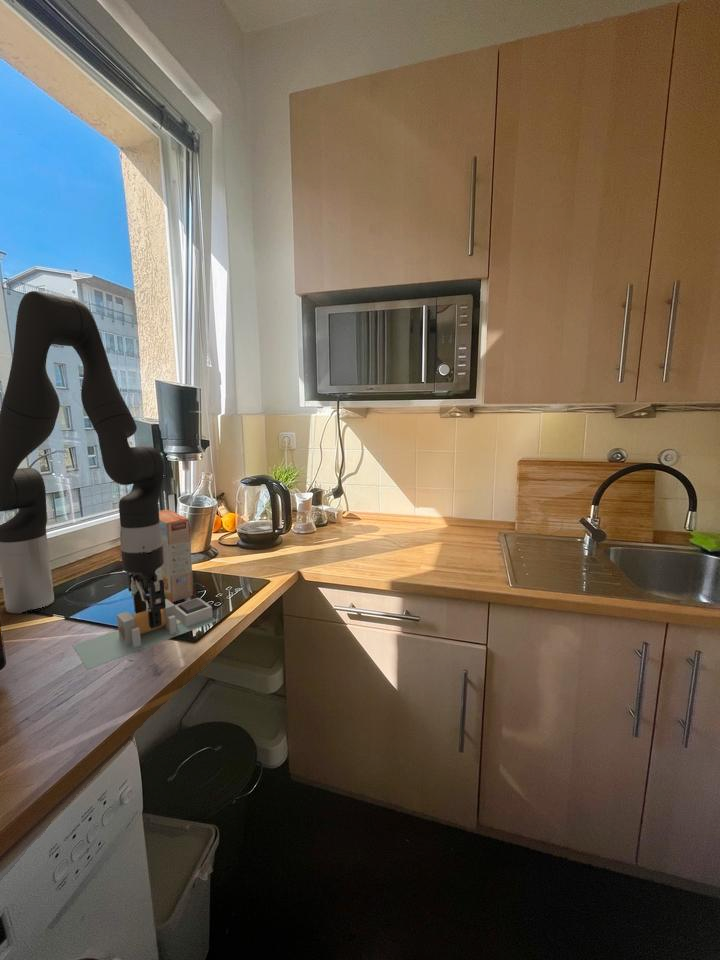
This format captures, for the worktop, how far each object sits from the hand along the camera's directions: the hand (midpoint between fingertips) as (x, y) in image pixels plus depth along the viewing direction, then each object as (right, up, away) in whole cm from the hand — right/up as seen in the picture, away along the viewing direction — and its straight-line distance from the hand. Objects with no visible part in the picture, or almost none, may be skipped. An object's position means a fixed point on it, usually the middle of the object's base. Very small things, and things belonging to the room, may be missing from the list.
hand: (147, 619), depth 87 cm
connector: (+7, -2, +7) cm, 10 cm away
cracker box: (-4, 0, +21) cm, 22 cm away
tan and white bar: (0, -3, 0) cm, 3 cm away
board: (0, -4, +1) cm, 4 cm away
